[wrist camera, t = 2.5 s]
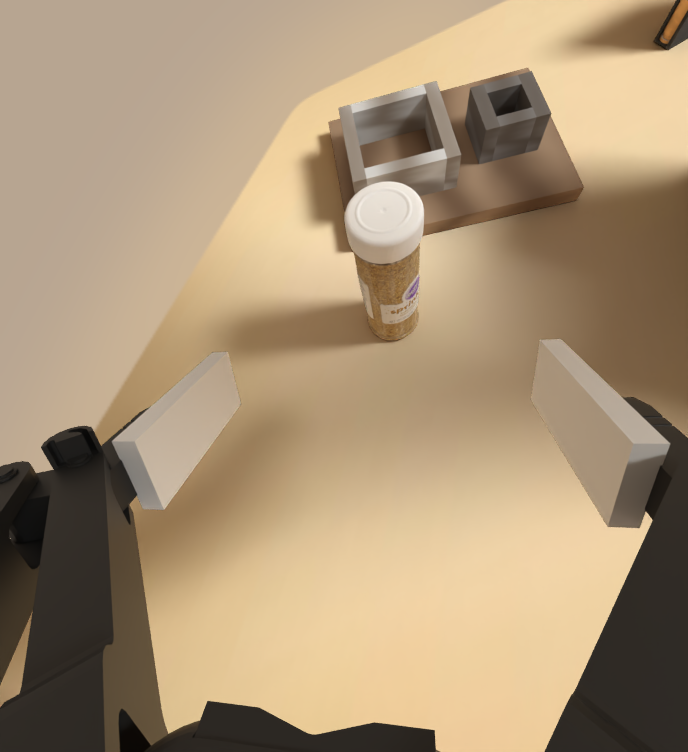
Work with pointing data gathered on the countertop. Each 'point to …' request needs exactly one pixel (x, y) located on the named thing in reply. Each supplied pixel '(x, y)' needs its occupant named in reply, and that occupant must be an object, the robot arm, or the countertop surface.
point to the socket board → (458, 149)
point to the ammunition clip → (674, 26)
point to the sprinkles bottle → (387, 254)
